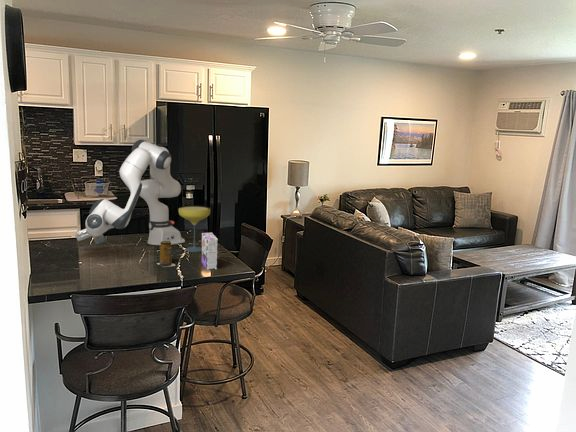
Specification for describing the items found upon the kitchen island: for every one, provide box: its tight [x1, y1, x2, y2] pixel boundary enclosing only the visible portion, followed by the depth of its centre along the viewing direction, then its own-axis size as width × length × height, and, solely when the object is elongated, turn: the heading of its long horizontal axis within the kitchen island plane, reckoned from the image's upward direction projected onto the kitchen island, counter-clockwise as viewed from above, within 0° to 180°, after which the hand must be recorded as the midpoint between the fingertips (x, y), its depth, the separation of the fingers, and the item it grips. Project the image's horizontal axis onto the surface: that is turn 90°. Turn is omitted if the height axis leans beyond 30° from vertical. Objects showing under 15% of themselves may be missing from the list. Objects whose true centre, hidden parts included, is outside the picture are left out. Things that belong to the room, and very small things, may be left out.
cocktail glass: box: [178, 204, 211, 253], centre depth 266 cm, size 18×18×25 cm
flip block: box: [91, 233, 106, 245], centre depth 245 cm, size 5×5×11 cm
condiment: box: [156, 241, 177, 268], centre depth 236 cm, size 7×8×12 cm
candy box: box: [201, 232, 219, 271], centre depth 236 cm, size 14×6×16 cm, turn 21°
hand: (96, 232), depth 246 cm, fingers closed on flip block, 5 cm apart
